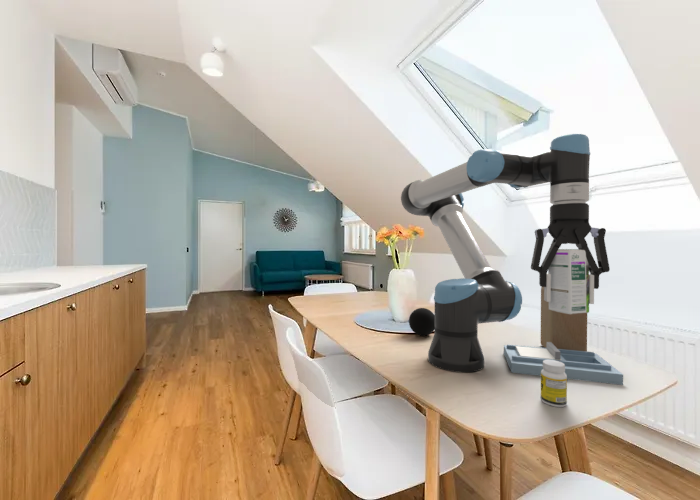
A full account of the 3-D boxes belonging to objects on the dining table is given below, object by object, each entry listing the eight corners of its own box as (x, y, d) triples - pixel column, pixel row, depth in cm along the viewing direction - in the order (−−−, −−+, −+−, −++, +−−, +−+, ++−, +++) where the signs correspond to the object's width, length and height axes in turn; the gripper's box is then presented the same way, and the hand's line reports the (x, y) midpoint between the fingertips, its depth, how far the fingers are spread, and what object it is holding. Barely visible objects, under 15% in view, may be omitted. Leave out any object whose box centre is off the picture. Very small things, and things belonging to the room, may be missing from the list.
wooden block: (588, 356, 97) (589, 290, 97) (551, 354, 99) (552, 289, 99) (572, 346, 107) (573, 285, 107) (539, 344, 109) (539, 285, 109)
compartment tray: (511, 372, 85) (511, 359, 85) (503, 353, 100) (503, 342, 100) (623, 384, 77) (623, 370, 77) (596, 362, 93) (596, 349, 93)
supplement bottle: (543, 394, 72) (543, 357, 72) (568, 401, 69) (568, 362, 69) (538, 402, 69) (538, 363, 69) (564, 410, 66) (565, 368, 66)
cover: (520, 359, 88) (520, 348, 87) (515, 349, 96) (515, 339, 96) (561, 363, 84) (561, 352, 84) (552, 352, 93) (552, 342, 93)
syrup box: (570, 314, 72) (571, 249, 72) (547, 309, 78) (547, 249, 78) (589, 313, 74) (590, 249, 74) (565, 308, 79) (566, 249, 79)
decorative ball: (440, 338, 117) (441, 310, 116) (414, 339, 115) (414, 311, 115) (430, 331, 127) (430, 305, 126) (405, 331, 125) (405, 306, 125)
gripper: (522, 203, 75) (521, 302, 75) (631, 199, 69) (630, 307, 69) (516, 207, 82) (516, 297, 83) (615, 204, 76) (614, 301, 76)
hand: (568, 301), depth 76 cm, fingers closed on syrup box, 8 cm apart
